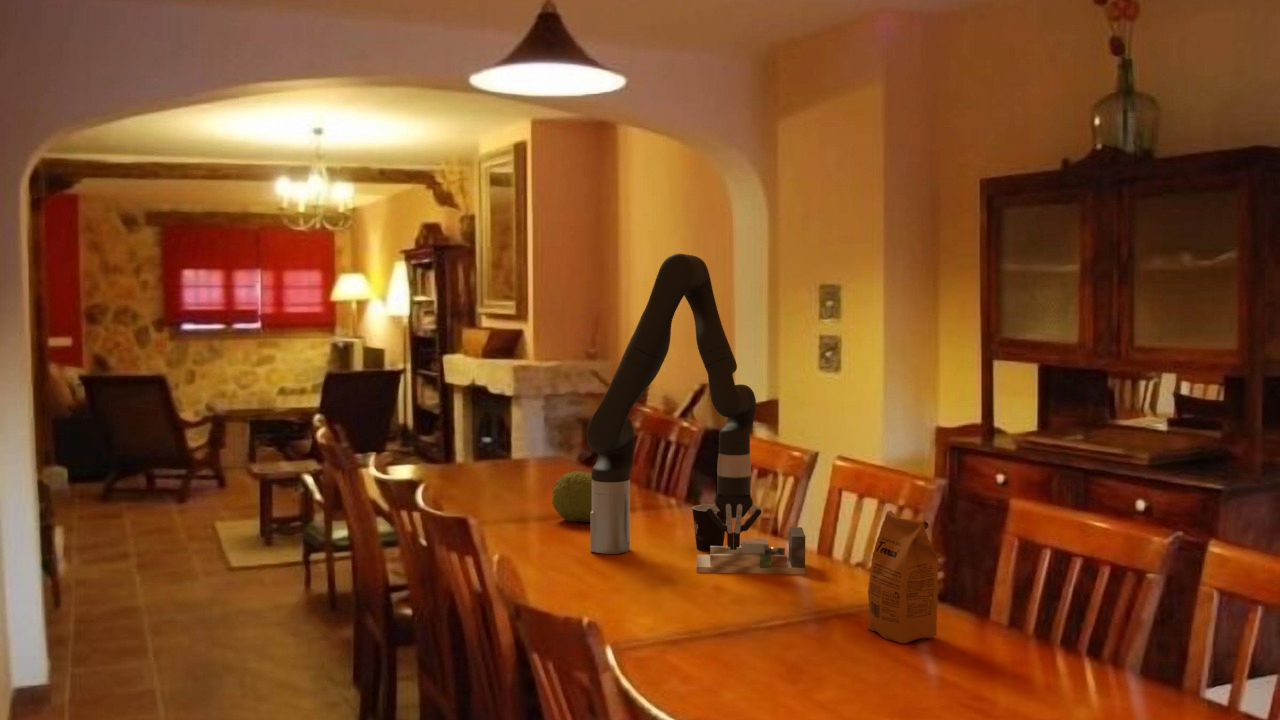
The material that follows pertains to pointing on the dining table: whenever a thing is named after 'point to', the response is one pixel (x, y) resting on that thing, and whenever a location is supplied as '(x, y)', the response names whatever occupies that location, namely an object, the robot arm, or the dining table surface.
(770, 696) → the dining table surface
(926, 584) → the coffee package
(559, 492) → the fruit
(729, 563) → the gauge bed
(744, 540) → the plunger
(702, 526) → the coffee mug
